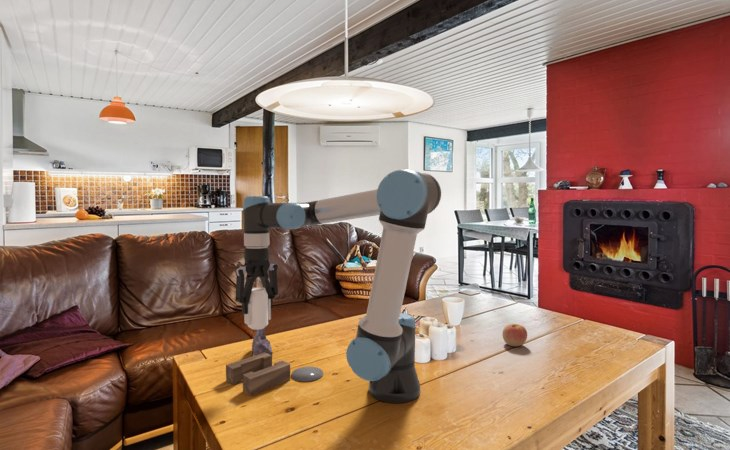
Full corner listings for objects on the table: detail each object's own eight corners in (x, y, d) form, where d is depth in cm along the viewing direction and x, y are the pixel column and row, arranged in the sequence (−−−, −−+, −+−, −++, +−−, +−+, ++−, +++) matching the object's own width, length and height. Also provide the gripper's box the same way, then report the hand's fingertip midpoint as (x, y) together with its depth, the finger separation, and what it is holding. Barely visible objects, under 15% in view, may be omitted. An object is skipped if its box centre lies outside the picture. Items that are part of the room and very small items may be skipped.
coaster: (329, 374, 129) (329, 372, 129) (305, 384, 122) (305, 383, 122) (309, 365, 136) (309, 363, 136) (285, 374, 129) (285, 373, 129)
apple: (531, 347, 154) (532, 327, 153) (512, 350, 151) (513, 329, 150) (515, 339, 162) (515, 320, 161) (497, 342, 159) (497, 322, 158)
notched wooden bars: (290, 379, 125) (290, 364, 125) (250, 395, 115) (250, 379, 115) (264, 366, 135) (264, 352, 134) (226, 380, 124) (225, 364, 124)
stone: (271, 335, 136) (266, 320, 150) (253, 338, 134) (248, 323, 148) (273, 364, 138) (267, 347, 152) (255, 368, 136) (251, 350, 149)
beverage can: (271, 325, 126) (271, 287, 125) (261, 331, 120) (261, 292, 119) (254, 323, 127) (253, 286, 127) (243, 329, 121) (242, 290, 121)
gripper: (276, 243, 131) (276, 312, 133) (221, 248, 117) (222, 325, 119) (289, 245, 126) (290, 317, 128) (234, 251, 112) (235, 331, 114)
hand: (257, 321), depth 123 cm, fingers closed on beverage can, 6 cm apart
